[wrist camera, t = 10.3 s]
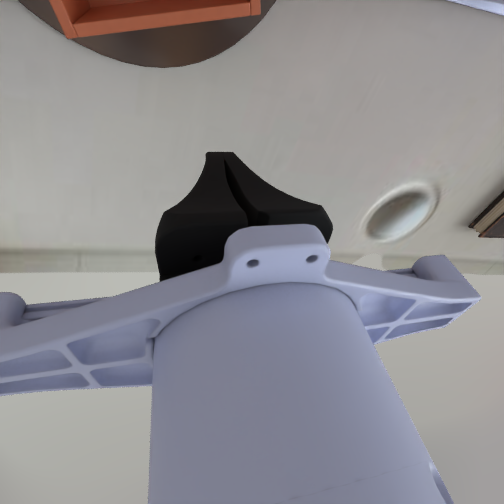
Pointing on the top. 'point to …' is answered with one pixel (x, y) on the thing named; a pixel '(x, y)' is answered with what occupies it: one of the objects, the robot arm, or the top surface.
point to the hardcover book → (491, 220)
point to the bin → (143, 14)
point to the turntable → (162, 38)
